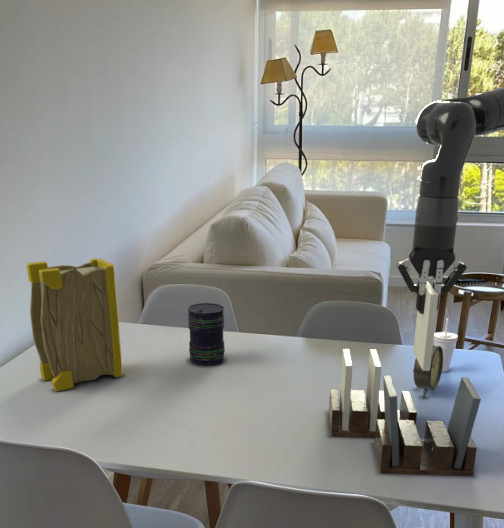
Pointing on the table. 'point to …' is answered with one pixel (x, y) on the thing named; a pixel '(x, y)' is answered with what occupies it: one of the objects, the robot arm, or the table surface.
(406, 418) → the book stands
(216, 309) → the black barrel
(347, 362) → the ivory book
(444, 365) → the smoothie
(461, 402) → the grey book
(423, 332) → the ivory book
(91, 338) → the decorative book
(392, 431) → the grey book
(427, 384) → the alarm clock
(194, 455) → the table surface
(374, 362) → the ivory book
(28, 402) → the table surface
